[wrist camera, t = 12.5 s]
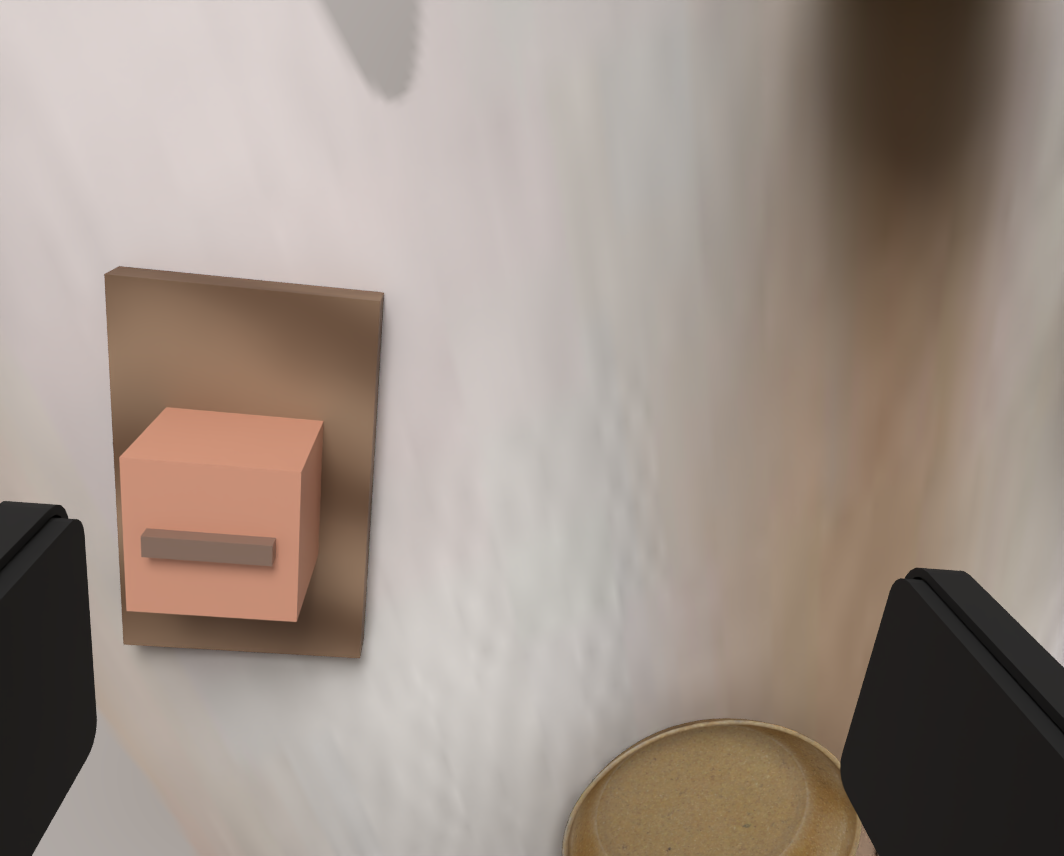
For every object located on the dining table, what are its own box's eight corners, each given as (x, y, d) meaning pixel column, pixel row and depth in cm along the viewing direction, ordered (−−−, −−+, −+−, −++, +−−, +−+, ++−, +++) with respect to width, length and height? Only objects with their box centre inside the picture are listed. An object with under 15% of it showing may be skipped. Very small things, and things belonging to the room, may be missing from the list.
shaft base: (363, 638, 41) (349, 710, 36) (135, 624, 40) (91, 696, 35) (383, 292, 35) (370, 324, 31) (119, 266, 34) (63, 295, 30)
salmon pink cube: (318, 554, 38) (293, 631, 32) (169, 544, 37) (120, 620, 32) (323, 420, 35) (297, 479, 30) (166, 407, 35) (112, 464, 30)
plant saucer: (874, 695, 44) (898, 731, 42) (805, 917, 49) (822, 960, 47) (579, 675, 43) (586, 711, 40) (539, 907, 48) (543, 951, 45)
